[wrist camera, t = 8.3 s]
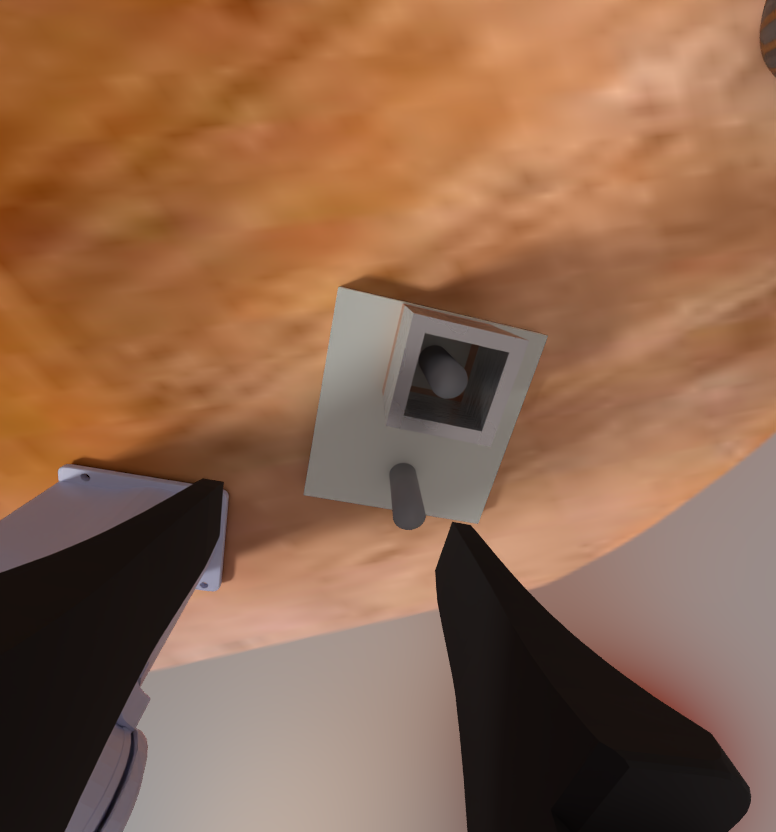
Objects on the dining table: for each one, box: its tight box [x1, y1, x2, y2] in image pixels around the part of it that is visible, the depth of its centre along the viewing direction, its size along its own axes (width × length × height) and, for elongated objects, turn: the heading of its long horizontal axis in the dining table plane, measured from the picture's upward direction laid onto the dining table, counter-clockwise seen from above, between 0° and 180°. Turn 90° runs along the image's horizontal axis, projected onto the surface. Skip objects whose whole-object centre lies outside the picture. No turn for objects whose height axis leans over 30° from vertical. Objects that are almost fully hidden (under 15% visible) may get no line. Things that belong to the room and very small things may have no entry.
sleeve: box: [382, 304, 529, 447], centre depth 17 cm, size 5×5×5 cm
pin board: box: [304, 286, 548, 530], centre depth 19 cm, size 11×12×5 cm
